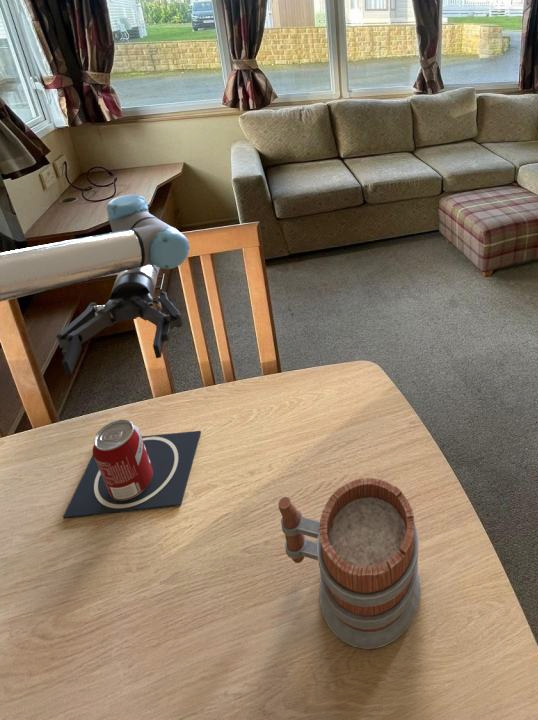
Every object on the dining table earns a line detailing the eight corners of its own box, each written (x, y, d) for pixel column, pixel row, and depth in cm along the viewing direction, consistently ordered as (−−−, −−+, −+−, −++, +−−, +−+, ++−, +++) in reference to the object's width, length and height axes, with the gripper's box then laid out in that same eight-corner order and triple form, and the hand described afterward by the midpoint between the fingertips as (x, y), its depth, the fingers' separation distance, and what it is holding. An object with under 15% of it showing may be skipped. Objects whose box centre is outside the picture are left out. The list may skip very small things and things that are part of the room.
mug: (408, 667, 59) (409, 601, 53) (266, 619, 64) (251, 553, 57) (428, 548, 72) (431, 483, 65) (308, 515, 76) (300, 451, 70)
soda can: (142, 503, 78) (124, 453, 72) (101, 503, 78) (79, 452, 73) (161, 465, 84) (145, 416, 79) (122, 464, 84) (104, 415, 79)
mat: (63, 518, 76) (62, 516, 76) (100, 441, 89) (99, 439, 89) (180, 505, 78) (180, 503, 78) (200, 432, 90) (200, 430, 90)
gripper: (202, 292, 103) (196, 361, 85) (71, 314, 97) (34, 393, 78) (195, 263, 100) (188, 327, 81) (60, 283, 94) (18, 358, 75)
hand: (112, 360), depth 80 cm, fingers open, 13 cm apart
